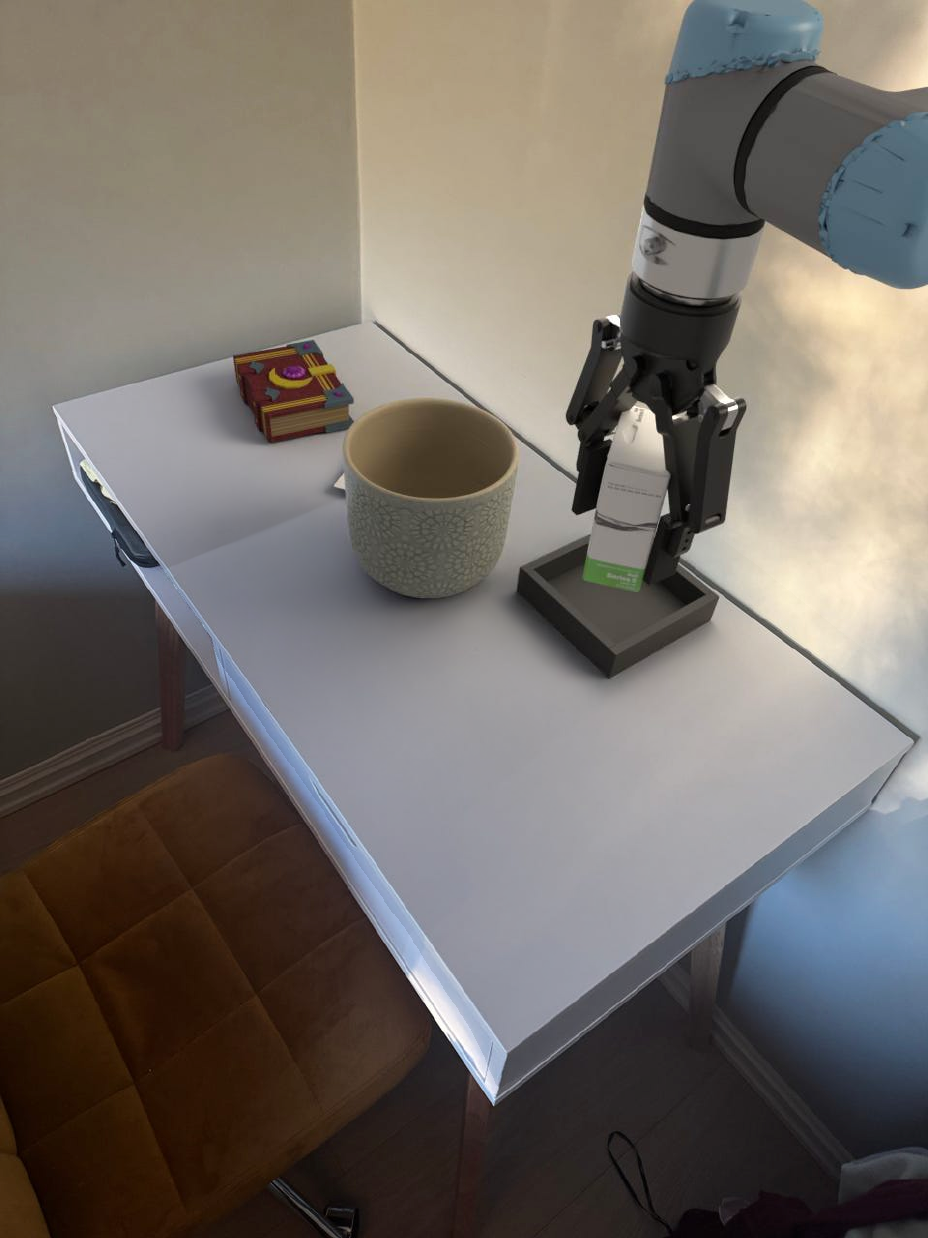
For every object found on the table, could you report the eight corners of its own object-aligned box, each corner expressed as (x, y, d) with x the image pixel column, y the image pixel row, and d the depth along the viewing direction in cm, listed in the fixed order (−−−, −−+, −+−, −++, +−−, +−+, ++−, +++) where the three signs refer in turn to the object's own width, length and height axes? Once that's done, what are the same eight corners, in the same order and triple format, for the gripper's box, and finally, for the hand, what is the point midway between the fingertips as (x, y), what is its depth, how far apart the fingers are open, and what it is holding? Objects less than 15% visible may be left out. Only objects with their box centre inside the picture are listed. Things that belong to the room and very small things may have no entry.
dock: (710, 620, 94) (719, 596, 92) (609, 679, 88) (615, 655, 85) (616, 542, 102) (622, 518, 100) (516, 591, 96) (519, 566, 93)
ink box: (639, 595, 73) (672, 477, 64) (579, 581, 73) (604, 462, 65) (653, 529, 79) (685, 413, 70) (597, 516, 79) (622, 400, 71)
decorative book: (267, 447, 110) (263, 412, 107) (231, 380, 120) (227, 346, 117) (355, 429, 114) (354, 394, 111) (313, 365, 124) (311, 331, 120)
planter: (352, 511, 103) (348, 393, 92) (500, 515, 104) (513, 400, 93) (342, 618, 91) (335, 498, 80) (508, 622, 92) (525, 504, 81)
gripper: (544, 224, 63) (511, 481, 80) (763, 374, 51) (671, 642, 67) (627, 207, 66) (580, 458, 83) (853, 345, 54) (745, 608, 70)
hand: (621, 541), depth 75 cm, fingers closed on ink box, 9 cm apart
